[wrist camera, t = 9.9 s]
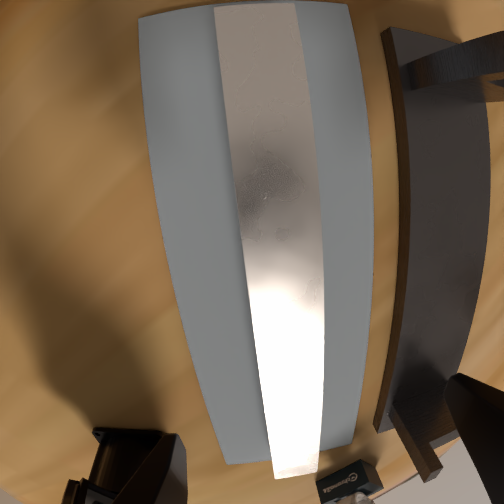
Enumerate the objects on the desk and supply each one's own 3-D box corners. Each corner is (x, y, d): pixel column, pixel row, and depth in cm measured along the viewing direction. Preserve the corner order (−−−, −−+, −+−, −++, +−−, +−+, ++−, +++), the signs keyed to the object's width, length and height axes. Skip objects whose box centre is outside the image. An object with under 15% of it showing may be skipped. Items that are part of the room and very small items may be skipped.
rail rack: (372, 424, 22) (407, 498, 14) (380, 33, 12) (475, -23, 4) (436, 401, 22) (479, 461, 14) (464, 53, 13) (557, 33, 5)
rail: (270, 448, 21) (274, 479, 18) (216, 34, 12) (213, 7, 9) (308, 441, 21) (317, 471, 18) (281, 30, 12) (294, 3, 9)
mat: (226, 460, 22) (226, 464, 21) (140, 22, 11) (138, 18, 11) (349, 439, 22) (351, 443, 22) (344, 7, 12) (347, 4, 11)
